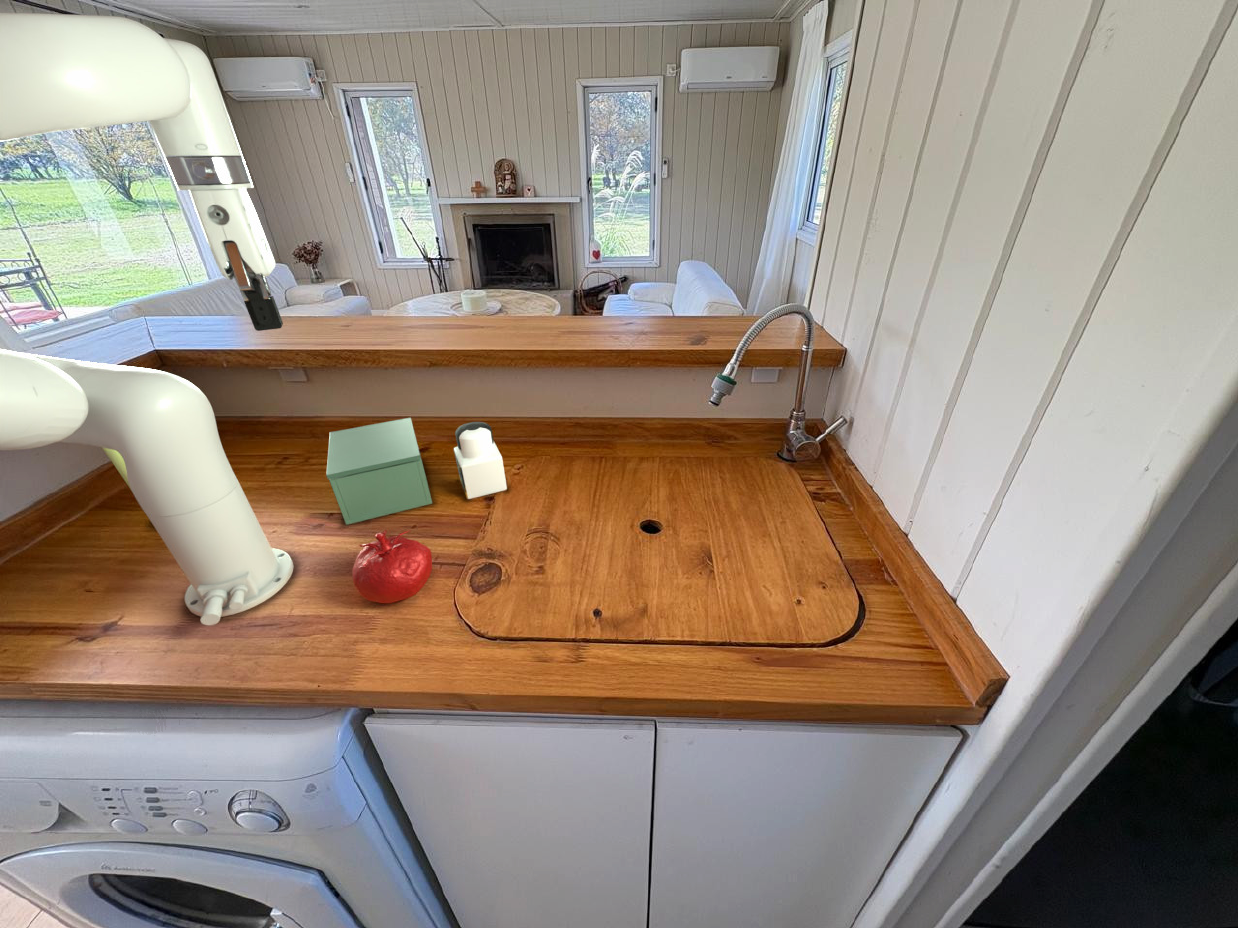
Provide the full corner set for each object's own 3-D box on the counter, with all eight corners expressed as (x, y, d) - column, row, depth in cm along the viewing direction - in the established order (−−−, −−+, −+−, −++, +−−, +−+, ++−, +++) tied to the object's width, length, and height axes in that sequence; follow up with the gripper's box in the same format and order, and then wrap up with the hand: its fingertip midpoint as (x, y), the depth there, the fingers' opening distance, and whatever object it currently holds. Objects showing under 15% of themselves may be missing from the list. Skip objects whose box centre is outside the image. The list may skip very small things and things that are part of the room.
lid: (421, 459, 80) (420, 455, 80) (327, 479, 76) (326, 475, 75) (411, 421, 93) (410, 417, 93) (331, 436, 88) (329, 432, 88)
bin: (432, 503, 86) (421, 460, 81) (346, 525, 81) (329, 480, 76) (421, 461, 98) (411, 421, 93) (345, 477, 93) (331, 436, 88)
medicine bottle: (460, 480, 92) (447, 422, 86) (498, 471, 95) (489, 414, 88) (467, 500, 87) (454, 440, 80) (507, 490, 89) (498, 431, 83)
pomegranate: (424, 612, 65) (408, 560, 60) (348, 614, 65) (325, 561, 60) (445, 560, 74) (432, 510, 69) (378, 561, 74) (360, 511, 69)
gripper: (238, 176, 55) (296, 339, 64) (257, 173, 66) (304, 312, 76) (154, 177, 52) (228, 348, 62) (188, 174, 63) (246, 318, 73)
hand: (269, 327), depth 69 cm, fingers closed
